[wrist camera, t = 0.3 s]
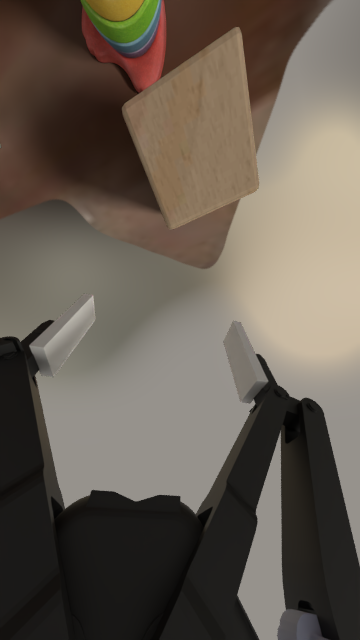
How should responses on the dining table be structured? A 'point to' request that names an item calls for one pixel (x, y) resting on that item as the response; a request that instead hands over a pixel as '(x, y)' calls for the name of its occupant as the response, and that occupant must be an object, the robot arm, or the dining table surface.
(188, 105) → the wooden block
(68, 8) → the dining table surface
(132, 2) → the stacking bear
